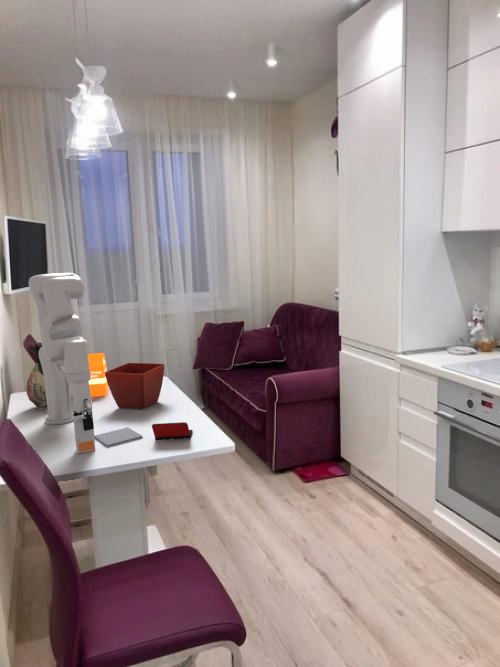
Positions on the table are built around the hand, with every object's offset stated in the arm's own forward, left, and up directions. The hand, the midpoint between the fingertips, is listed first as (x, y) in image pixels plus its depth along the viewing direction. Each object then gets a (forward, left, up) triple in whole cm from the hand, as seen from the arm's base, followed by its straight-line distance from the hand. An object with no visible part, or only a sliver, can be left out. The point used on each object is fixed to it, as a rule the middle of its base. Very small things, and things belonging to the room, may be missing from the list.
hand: (84, 426), depth 175 cm
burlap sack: (-67, +5, -9) cm, 67 cm away
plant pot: (-39, +36, -9) cm, 53 cm away
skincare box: (-1, 0, -9) cm, 9 cm away
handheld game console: (+10, +28, -9) cm, 31 cm away
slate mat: (-5, +13, -9) cm, 16 cm away
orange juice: (-72, +30, -9) cm, 78 cm away
